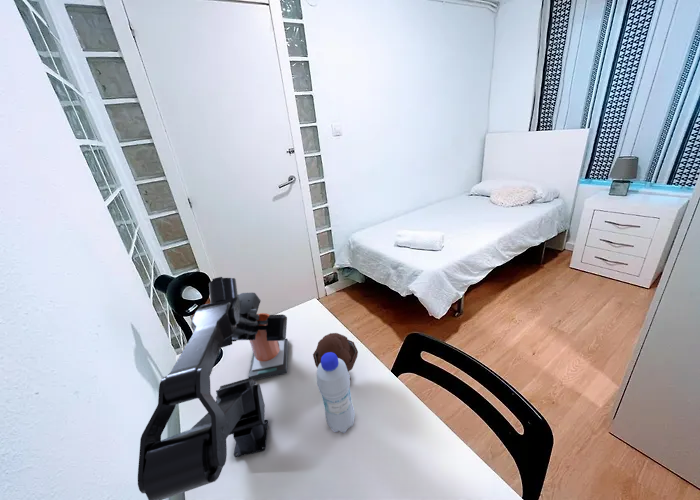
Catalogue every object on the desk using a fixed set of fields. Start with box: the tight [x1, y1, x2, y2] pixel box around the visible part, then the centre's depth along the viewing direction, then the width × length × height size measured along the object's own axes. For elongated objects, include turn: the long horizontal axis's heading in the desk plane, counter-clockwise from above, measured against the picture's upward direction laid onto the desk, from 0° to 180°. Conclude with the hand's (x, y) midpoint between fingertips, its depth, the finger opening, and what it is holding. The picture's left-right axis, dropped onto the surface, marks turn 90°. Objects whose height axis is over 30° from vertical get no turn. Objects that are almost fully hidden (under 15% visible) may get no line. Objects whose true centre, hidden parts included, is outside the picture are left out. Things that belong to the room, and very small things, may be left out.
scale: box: [247, 338, 289, 381], centre depth 80 cm, size 12×10×2 cm
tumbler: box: [248, 312, 280, 361], centre depth 77 cm, size 7×7×11 cm
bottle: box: [316, 352, 355, 434], centre depth 58 cm, size 7×7×20 cm
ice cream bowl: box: [312, 332, 359, 381], centre depth 69 cm, size 11×11×15 cm
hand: (263, 330), depth 78 cm, fingers closed on tumbler, 7 cm apart
